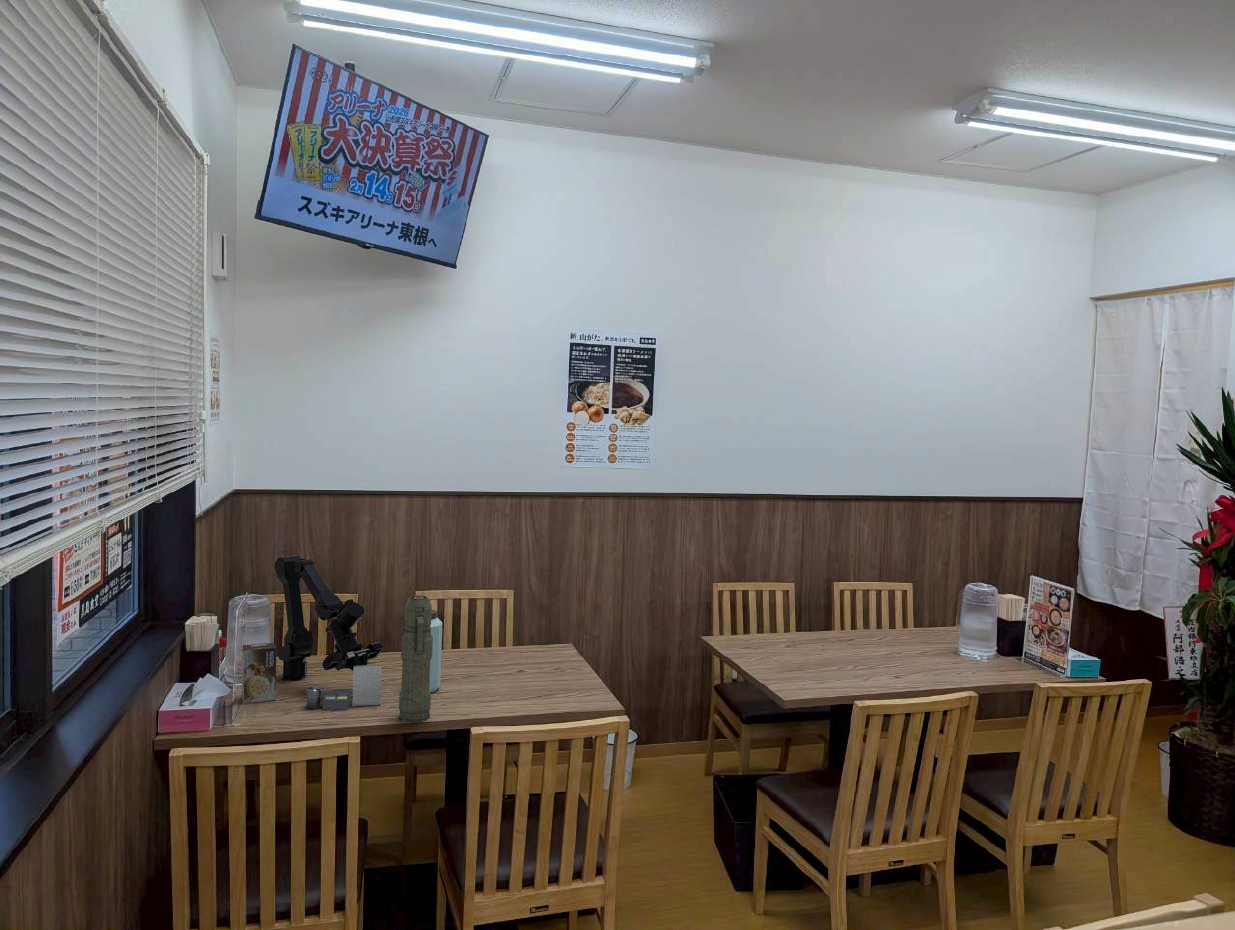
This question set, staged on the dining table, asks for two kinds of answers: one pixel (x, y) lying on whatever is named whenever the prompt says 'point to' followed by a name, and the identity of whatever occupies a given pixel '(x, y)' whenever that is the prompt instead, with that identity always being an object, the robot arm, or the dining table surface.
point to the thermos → (416, 660)
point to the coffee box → (259, 672)
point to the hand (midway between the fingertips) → (365, 679)
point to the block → (336, 702)
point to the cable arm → (362, 691)
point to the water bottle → (435, 652)
